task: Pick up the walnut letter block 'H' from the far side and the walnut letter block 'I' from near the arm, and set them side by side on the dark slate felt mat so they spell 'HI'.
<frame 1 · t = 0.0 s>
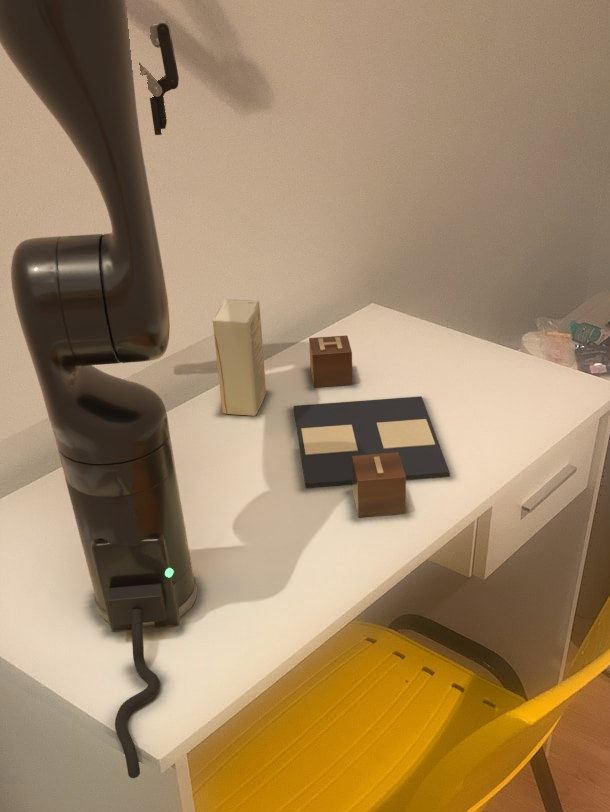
hand: (119, 135, 105), 29 cm above the table, tool pointing down, fingers open, 8 cm apart
word mat: (367, 441, 112), on the table
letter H: (331, 377, 125), on the table
letter I: (378, 502, 103), on the table
cosmetic box: (245, 405, 120), on the table
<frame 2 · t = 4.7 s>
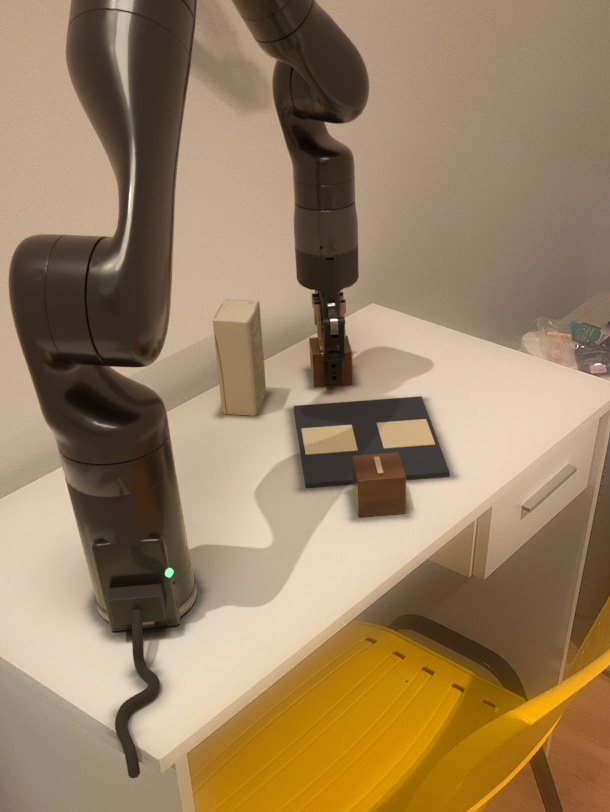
hand: (331, 374, 125), 0 cm above the table, tool pointing down, fingers closed on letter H, 5 cm apart
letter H: (331, 377, 125), on the table, touching gripper
everything else where it was.
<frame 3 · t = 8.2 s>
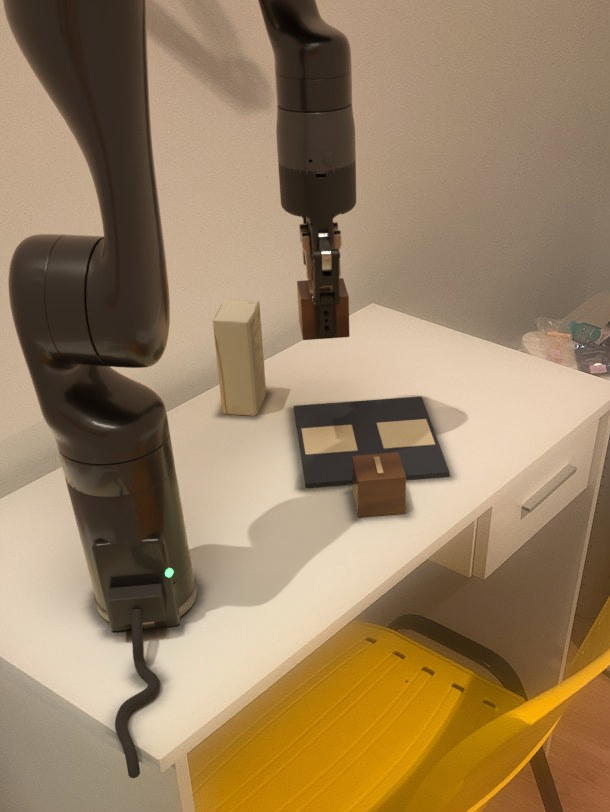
hand: (323, 325, 104), 14 cm above the table, tool pointing down, fingers closed on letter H, 5 cm apart
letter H: (324, 329, 104), point 14 cm above the table, touching gripper
everything else where it was.
when the fingers open (1 cm above the table, at t = 11.6 s): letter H stays where it is, resting on word mat.
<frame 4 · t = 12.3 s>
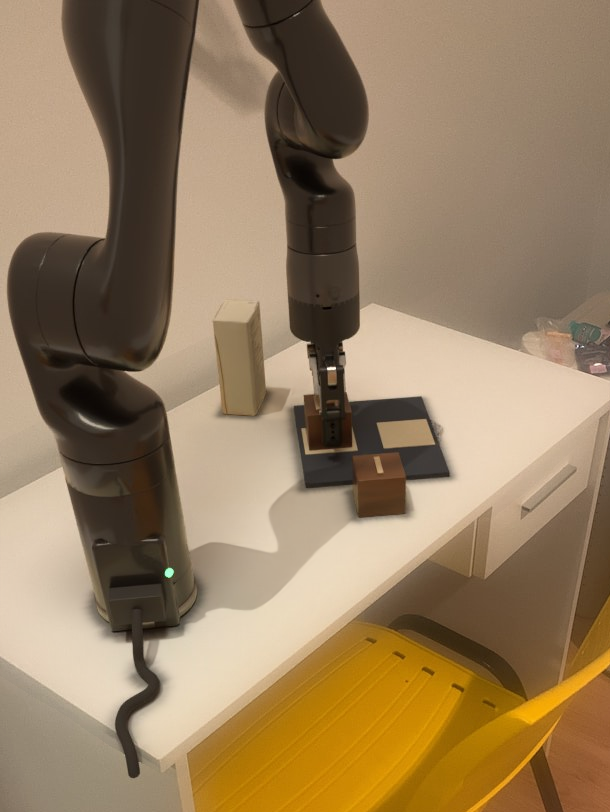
hand: (328, 426, 110), 2 cm above the table, tool pointing down, fingers open, 8 cm apart
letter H: (328, 438, 112), point 1 cm above the table, touching word mat
everything else where it was.
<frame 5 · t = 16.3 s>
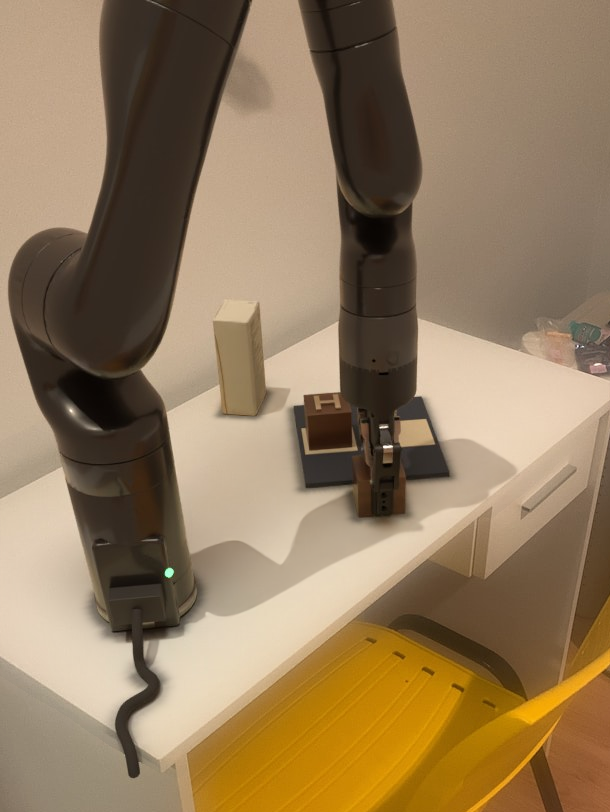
hand: (378, 499, 102), 0 cm above the table, tool pointing down, fingers closed on letter I, 5 cm apart
letter I: (378, 502, 103), on the table, touching gripper
everything else where it was.
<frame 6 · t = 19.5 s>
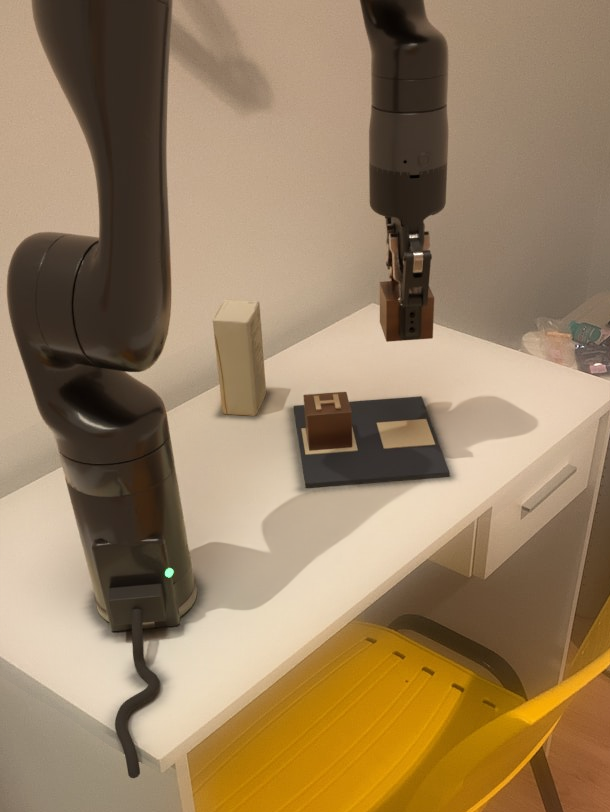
hand: (405, 326, 103), 14 cm above the table, tool pointing down, fingers closed on letter I, 5 cm apart
letter I: (405, 330, 103), point 14 cm above the table, touching gripper
everything else where it was.
when the fingers open (1 cm above the table, at t = 22.8 s): letter I stays where it is, resting on word mat.
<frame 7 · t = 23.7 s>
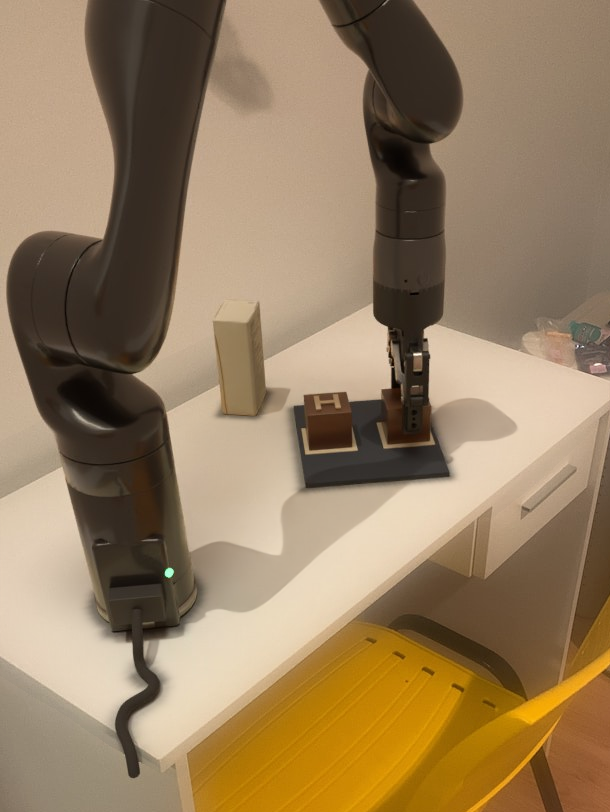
hand: (406, 414, 110), 3 cm above the table, tool pointing down, fingers open, 8 cm apart
letter I: (405, 432, 112), point 1 cm above the table, touching word mat
everything else where it was.
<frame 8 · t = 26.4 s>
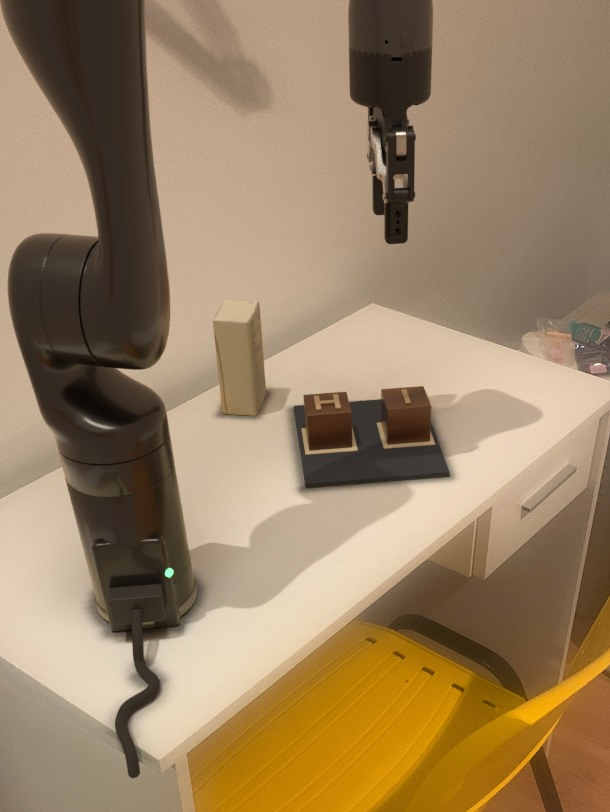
hand: (389, 227, 97), 24 cm above the table, tool pointing down, fingers open, 8 cm apart
nothing on the table moved.
at the end: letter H 0.3 cm from the target spot on the word mat, point 0.7 cm above the word mat's base; letter I 0.2 cm from the target spot on the word mat, point 0.7 cm above the word mat's base; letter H tilted 0° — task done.
